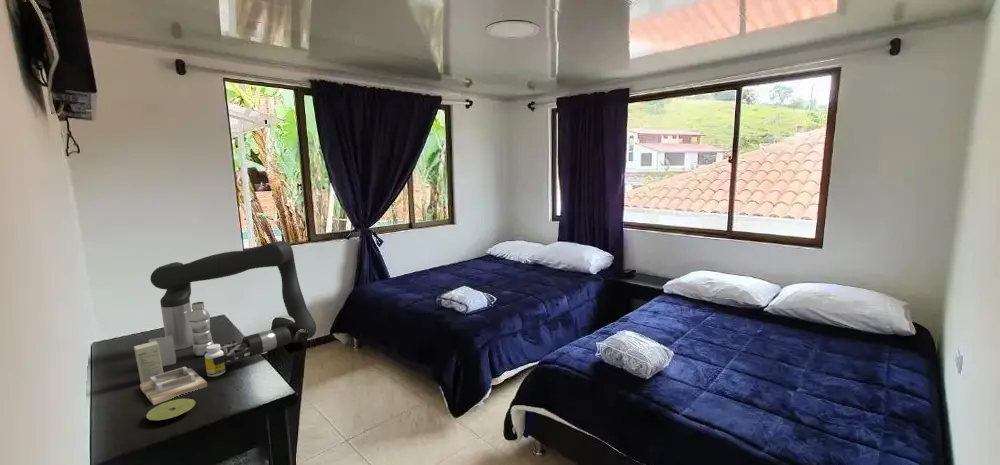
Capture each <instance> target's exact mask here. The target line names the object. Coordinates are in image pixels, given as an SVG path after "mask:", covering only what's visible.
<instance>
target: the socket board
mask: <svg viewBox="0 0 1000 465" xmlns="http://www.w3.org/2000/svg"><path fill="white" fill-rule="evenodd" d="M207 387H208V382H207V381H206V380H205V379H204V378H203V377H201V376H200V374H199V373H197V372H196V371H195V370H194V369H193V368H188V367H186V366H182V367H179V368H175V369H173V370H169V371H166V372H164V373H162V374H159V375H155V376H152V377H150V381H149V382H145V383H142V384H141V383H140V384H139V388H140V390H141V391H142V393H143V394H144V395H145V396H146V397H147V399H148V400H149V402H150V403H151V404H152V405H153V406H156V405H159V404H162V403H165V402H166V401H167V402H168V401H171V399H172V398H173V399H175V398H174V397H176V396H178V397H180V396H179V395H181V394H184V395H186V394H185V393H187V394H189V393H188V392H190V393H192V391H193V392H195V390H196V391H198V389H199V390H201V389H204V388H207ZM181 396H182V395H181ZM176 398H177V397H176Z"/></svg>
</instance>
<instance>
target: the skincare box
mask: <svg viewBox="0 0 1000 465" xmlns="http://www.w3.org/2000/svg"><path fill="white" fill-rule="evenodd" d="M133 350H134V355H135V359H136V366H137V371H138V376H139V381H140V384H142V383H145V382H149V381H150V377H152V376H155V375H159V374H162V373H165V372H164V369H163V368H164V366H162V361H161V356H160V351H159V345H158V342H157V341H153V342H149V341H148V342H147V343H146V342H145V343H142V344H138V345H134V346H133Z"/></svg>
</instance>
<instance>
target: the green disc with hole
mask: <svg viewBox="0 0 1000 465" xmlns="http://www.w3.org/2000/svg"><path fill="white" fill-rule="evenodd" d="M195 406H196V401H195V400H194V399H193V398H178V399H177V398H176V399H173V400H168V401H167V402H166V401H165V402H162V403H159V404H157V405H155V406H154V407H153V408H151V409H150V410H149V411H148V412H147V414H146V415H145V417H146V419H148V420H149V421H161V420H162V421H163V420H168V419H169V420H170V419H172V418H175V417H179V416H180V415H182V414H185V413H187V412H188V411H190V410H191V409H193V408H194V407H195Z"/></svg>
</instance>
